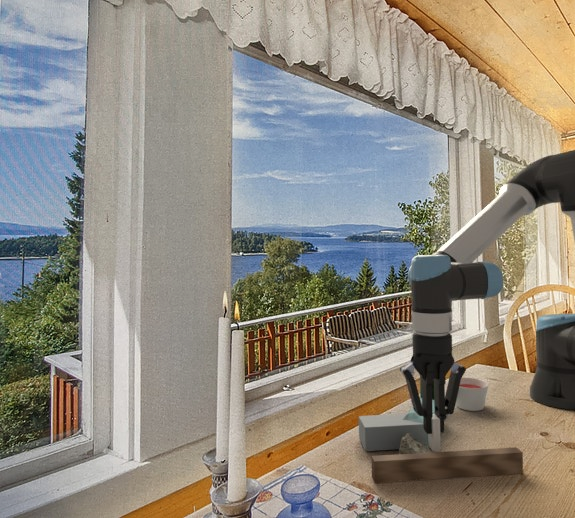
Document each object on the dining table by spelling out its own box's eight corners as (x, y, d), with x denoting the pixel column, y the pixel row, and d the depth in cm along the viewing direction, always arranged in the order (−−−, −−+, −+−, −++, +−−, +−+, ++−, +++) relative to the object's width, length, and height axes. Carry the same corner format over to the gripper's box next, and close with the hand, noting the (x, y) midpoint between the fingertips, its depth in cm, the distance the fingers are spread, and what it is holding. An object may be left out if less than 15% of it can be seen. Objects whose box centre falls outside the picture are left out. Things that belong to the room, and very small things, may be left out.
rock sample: (451, 460, 78) (417, 419, 83) (419, 486, 78) (387, 444, 83) (453, 459, 87) (423, 422, 92) (425, 483, 87) (395, 445, 92)
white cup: (489, 403, 115) (489, 379, 114) (487, 415, 107) (487, 390, 106) (453, 398, 119) (453, 375, 119) (449, 409, 111) (448, 385, 111)
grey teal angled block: (436, 417, 106) (436, 397, 106) (465, 445, 91) (464, 421, 91) (350, 421, 105) (350, 401, 104) (365, 451, 90) (365, 427, 90)
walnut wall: (516, 467, 82) (516, 447, 82) (523, 473, 80) (522, 452, 80) (371, 477, 80) (371, 456, 80) (374, 482, 78) (374, 461, 78)
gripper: (455, 327, 90) (457, 438, 91) (394, 329, 89) (396, 441, 90) (472, 334, 82) (474, 455, 83) (406, 337, 82) (409, 459, 82)
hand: (434, 448), depth 86 cm, fingers closed
